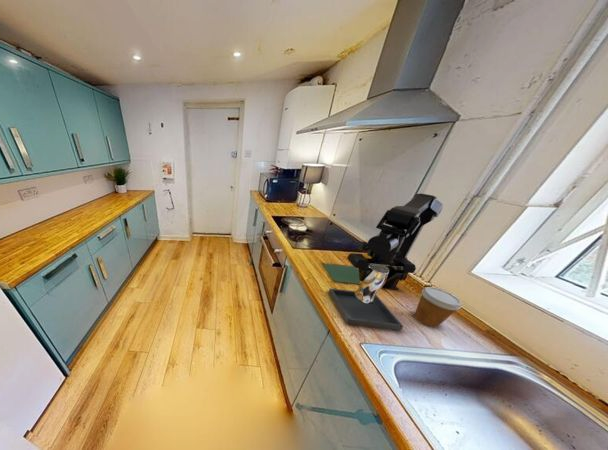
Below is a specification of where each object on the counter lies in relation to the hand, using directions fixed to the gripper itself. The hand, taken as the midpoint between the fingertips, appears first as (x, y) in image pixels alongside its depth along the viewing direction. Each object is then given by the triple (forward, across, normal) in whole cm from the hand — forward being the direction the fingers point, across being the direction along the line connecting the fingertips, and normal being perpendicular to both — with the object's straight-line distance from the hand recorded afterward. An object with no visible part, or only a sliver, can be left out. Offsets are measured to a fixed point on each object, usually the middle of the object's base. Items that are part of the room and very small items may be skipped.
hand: (371, 281), depth 73 cm
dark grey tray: (+13, +1, +2) cm, 13 cm away
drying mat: (+13, -4, -21) cm, 25 cm away
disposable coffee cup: (+13, -21, +3) cm, 25 cm away
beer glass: (+9, 0, 0) cm, 9 cm away
